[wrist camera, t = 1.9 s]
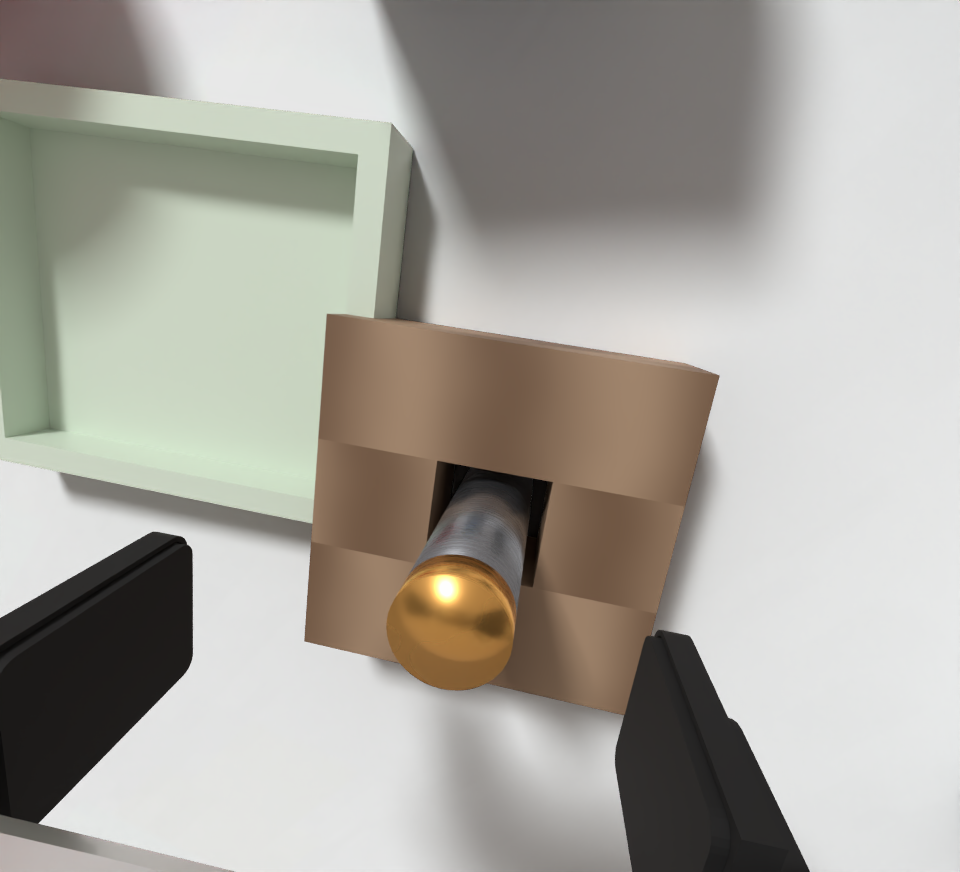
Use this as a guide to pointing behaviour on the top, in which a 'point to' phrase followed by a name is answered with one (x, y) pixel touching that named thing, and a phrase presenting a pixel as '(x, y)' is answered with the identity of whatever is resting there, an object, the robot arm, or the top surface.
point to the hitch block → (513, 450)
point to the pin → (465, 585)
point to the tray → (185, 285)
